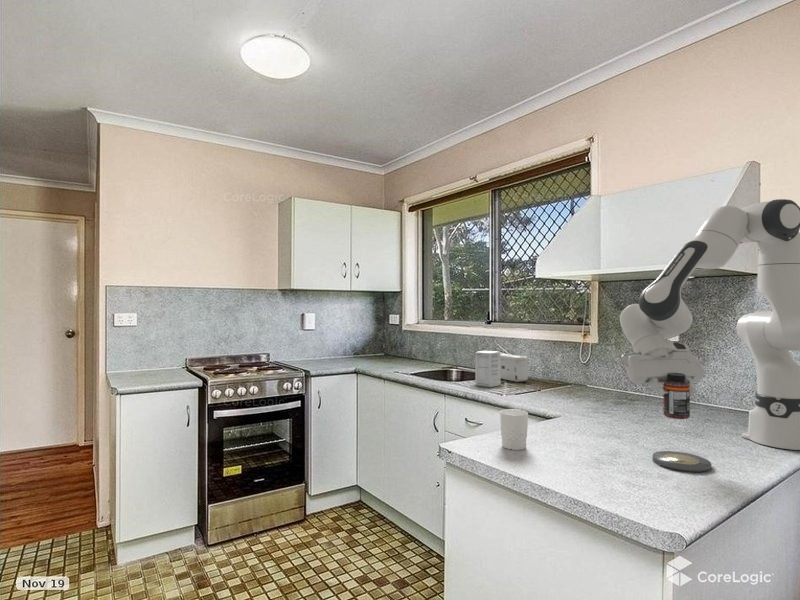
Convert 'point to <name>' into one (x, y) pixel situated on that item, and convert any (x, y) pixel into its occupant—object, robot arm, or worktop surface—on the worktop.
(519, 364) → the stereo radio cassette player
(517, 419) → the white cup
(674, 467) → the grey flat disc
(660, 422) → the worktop surface
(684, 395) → the supplement bottle
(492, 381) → the supplement box
